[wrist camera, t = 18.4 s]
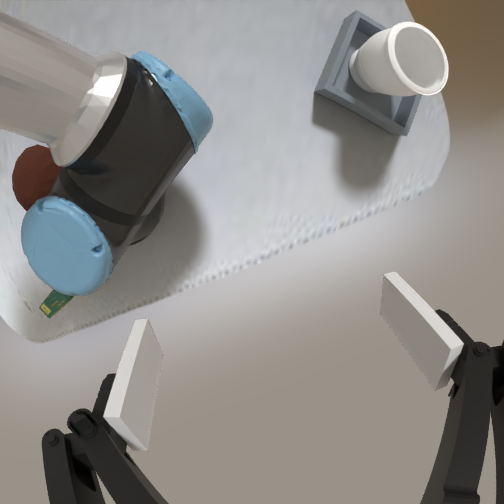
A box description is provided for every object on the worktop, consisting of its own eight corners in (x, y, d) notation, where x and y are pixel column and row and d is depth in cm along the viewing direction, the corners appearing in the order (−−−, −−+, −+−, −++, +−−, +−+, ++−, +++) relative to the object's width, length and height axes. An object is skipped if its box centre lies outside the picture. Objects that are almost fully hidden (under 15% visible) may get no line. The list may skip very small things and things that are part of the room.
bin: (314, 91, 42) (323, 88, 37) (344, 18, 36) (356, 10, 32) (391, 134, 45) (406, 136, 41) (416, 64, 40) (432, 61, 35)
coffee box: (77, 282, 51) (48, 320, 39) (67, 271, 50) (37, 307, 38) (101, 261, 50) (73, 299, 38) (92, 249, 49) (61, 284, 37)
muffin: (26, 157, 40) (-7, 167, 31) (69, 130, 40) (38, 133, 31) (47, 214, 45) (18, 233, 36) (91, 191, 45) (64, 207, 36)
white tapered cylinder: (392, 105, 43) (447, 105, 29) (339, 90, 41) (386, 80, 28) (396, 53, 38) (449, 39, 25) (344, 35, 37) (389, 9, 23)
